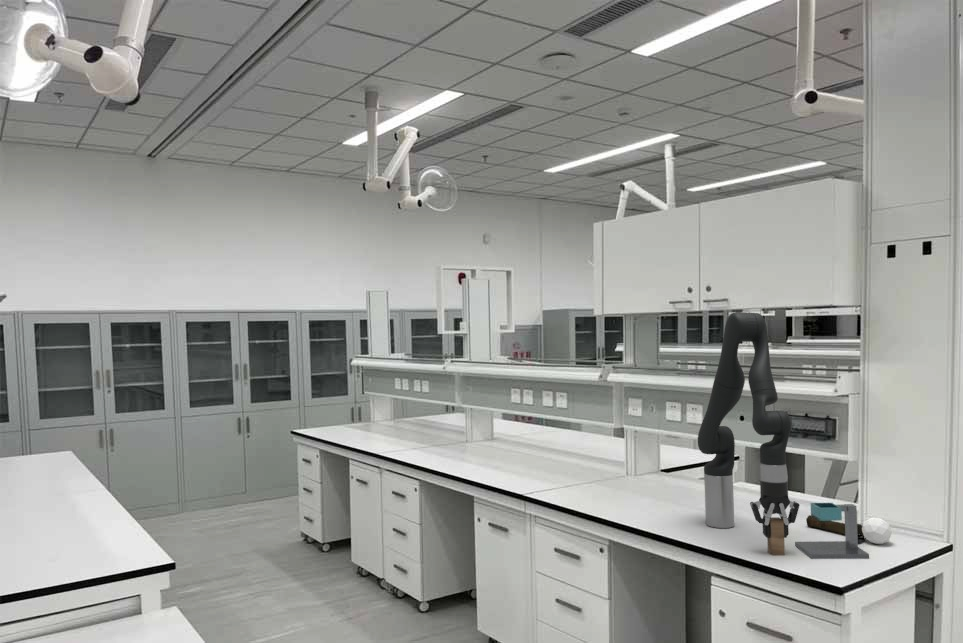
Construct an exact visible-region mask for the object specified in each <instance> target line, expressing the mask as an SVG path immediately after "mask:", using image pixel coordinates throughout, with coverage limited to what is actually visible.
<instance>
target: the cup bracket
mask: <svg viewBox="0 0 963 643" xmlns="http://www.w3.org/2000/svg"><path fill="white" fill-rule="evenodd" d="M842 512H844V523H845V534H844V539H845V540H844V541H841V540H840V541H839V540H837V541H836V540H835V541H833V540H831V541H830V540H829V541H824V540H823V541H794V546H795V547H796V548H797V549H799V550H800V551H801V552H802V553H804V554H805V555H806V556H807V557H809V558H810V559H812V560H813V559H815V560H817V559H818V560H819V559H820V560H821V559H825V560H826V559H870V554H869V553H868V552H866V551H865V550H864V549H862V548H860V547H859V539H858V534H857V524H858V515H857V514H858V512H857V505H855V504H853V503H845V504H844V503H843V504H836V503H833V502H810V515H812V516H813V517H815V518H816V519H818V520H820V521H835V522H838V521H843V520H842V519H843V518H842V517H843V516H842V515H843V514H842Z"/></svg>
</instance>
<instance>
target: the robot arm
mask: <svg viewBox="0 0 963 643" xmlns="http://www.w3.org/2000/svg"><path fill="white" fill-rule="evenodd" d="M723 332H724V333H723V337H722V338H723V339H722V343H721V344H722V346H721V352H720V356H719V361H718V365H717V370H716V372H715V376H714V379H713V384H712V389H711V394H710V397H709V401H708V404H707V407H706V411H705V414H704V417H703V419H702V421H701V424H700V427H699V431H698V434H697V446H698V449H699V451H700V453H702V454H704V455H715V456H714V457H713V459H712V460H711V461H709V462H707V463H705V464H704V466H703V476H704V477H703V480H704V481H703V483H704V484H703V485H704V504H705V505H704V508H705V510H704V511H705V525H706V526H709V527H712V528H716V529H729V528H733V527H734V526H735V499H734V474H733V473H734V472H733V471H734V467H735V450H736V449H735V446H736V445H735V444H736V443H735V442H736V441H735V436H734V432H733V431H732V429H731V428H730V427H729V426H726V425H721V423H722V422H723V420H724V418H725V417H726V416H727V415H728V413H730V412H731V411H732V410H733V409H734V407H736V405H737V404H738V402H739V401H740V400H741V398H742V394H743V390H744V387H745V383H746V380H745V373H744V371H743V368H742V366H741V363H740V361H739V358H738V351H739V346H740V343H741V342H745V343H750V342H751V344H752V346H753V350H754V357H753V361H752V362H751V366H750V368H749V371H748V377H747V378H748V386H749V389H750V393H751V397H752V418H751V419H752V421H751V424H752V428H753V429H754V431H755V432H756V433H757V435H760V436H773V437H772V439H771V440H770V441H767V442H764V443H762V444H761V445H759V446H760V447H759V458H760V462H759V464H760V466H759V484H760V485H759V487H760V488H759V490H760V498H759V500H757V501H750V503H749V505H750V507H751V510H752V513H753V516H754V519H755V521H756V522H757V523H759V524H761V525H762V534H763V536H765V538H766V539H767V538H770V526H769V525H768V524H769V521H770V518H772V515H775V514H778V516H779V518H781V519H782V520H783V521H784V539H785V538H788V537H789V525H790V524H794V523H796V519H797V517H798V513H799V512H798V511H799V508H800V503H799V502H797V501H796V500H795V501H792V500H790V498H789V487H788V486H789V484H788V483H789V481H788V479H789V476H788V468H787V454H786V453H787V452H786V451H787V446H788V441H789V438H790V434H791V430H792V419H791V417H790V415H789V414H788V412H786V411H784V410H768V411H767V410H766V406H770V405H773V404H775V403H776V402H778V398H779V396H778V393H777V389H776V385H775V382H774V377H773V374H772V373H773V372H772V368H771V358H770V347H769V345H770V344H769V336H768V328H767V323H766V320H765V318H764V316H763V315H762V314H761V313H758V312H741V311H740V312H739V311H737V312H736V311H735V312H732V313H730V314H729V315H728V317H727V319H726V322H725V326H724V331H723ZM761 507H762V508H763V512H762V516H761V513H760V509H761ZM788 507H789V509H790V510H789V513H788V515H787V512H786V509H787V508H788Z"/></svg>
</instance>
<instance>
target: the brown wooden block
mask: <svg viewBox="0 0 963 643" xmlns="http://www.w3.org/2000/svg"><path fill="white" fill-rule="evenodd" d="M768 525H769V526H770V538H767V537H766V539H767V552H768V553H769V554H770V555H771V556H785V555H786V549H785V538H784V521H783V520H782V519H781V518H780V516H779V517H777V516H776V517H772V516H771V518H770V521H769V524H768Z"/></svg>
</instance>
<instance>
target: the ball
mask: <svg viewBox="0 0 963 643" xmlns="http://www.w3.org/2000/svg"><path fill="white" fill-rule="evenodd" d="M862 526H863V527H862V532H863V535H864V537H865V538H866V539H865V540H868V541H869V542H870V543H871V544H877V545H883V544H886V543H887V542H889V541H890V538H891V537H892V536H891V535H892V529H891V526H890V524H889V523H888V522H886V521H885V520H884V519H882V518H881V517H880V518H879V517H873V516H872V517H870V518H869V519H867V520H865V521H863V524H862Z"/></svg>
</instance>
